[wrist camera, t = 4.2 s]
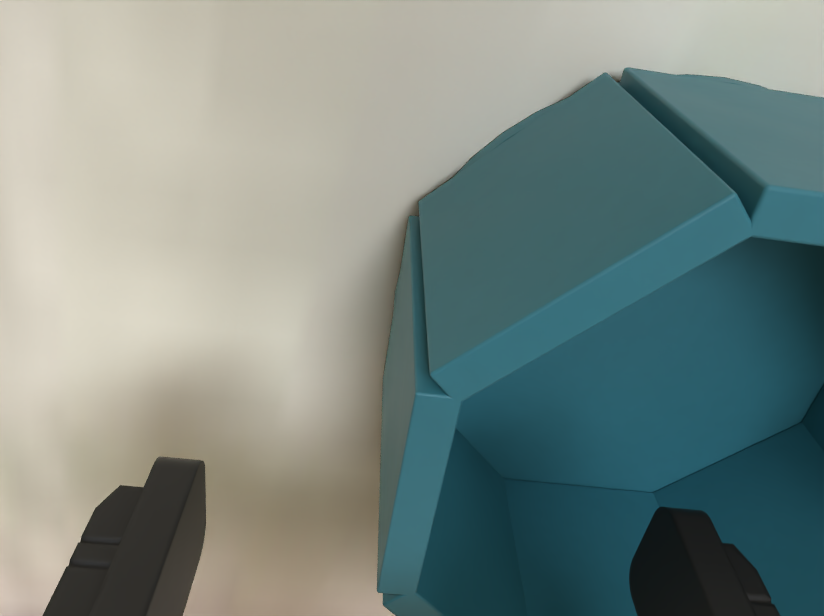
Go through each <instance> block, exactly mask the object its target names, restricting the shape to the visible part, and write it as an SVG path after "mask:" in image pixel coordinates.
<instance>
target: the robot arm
mask: <svg viewBox="0 0 824 616" xmlns="http://www.w3.org/2000/svg"><path fill="white" fill-rule="evenodd" d="M205 528H206V493H205V464H204V461H201V460H191V459H180V458H170V457H158V458H157V459H156V461H155V462H154V465H153V467H152V469H151V471H150V474H149V476H148V478H147V481H146V483H145V485H144V488H143V487H133V486H122V485H120V486H119V487H118V488H117V489H116V490H115V491H114V492H112V493H111V494H110V495H109V496H108V497H107V498H106V499H105V500H104V501H103V502H102V503H101V504H100V505H99V506H97V507H96V508H95V510H94V512H93V514H92V516H91V518H90V520H89V522H88V524H87V526H86V528H85V530H84V532H83V534H82V536H81V541H80V543H78V545H77V547H76V549H75V551H74V553H73V555H72V557H71V559H70V563H69V566H67V567H66V569H65V571H64V573H63V575H62V577H61V579H60V581H59V583H58V585H57V587H56V589H55V591H54V593H53V595H52V597H51V599H50V601H49V604H48V606H47V608H46V610H45V612H44V614H43V616H183V613H184V609H185V606H186V603H187V600H188V596H189V593H190V590H191V586H192V583H193V580H194V576H195V573H196V570H197V566H198V563H199V560H200V556H201V552H202V548H203V542H204V536H205ZM629 586H630V592H631V597H632V600H633V603H634V606H635V610H636V613H637V616H780V614H779V612H778V610H777V608H776V606H775V604H772V603H771V596H770V595H769V593H768V591H767V589H766V587H765V585H764V583H763V581H762V579H761V577H760V575H759V573H758V571H757V569H756V568H755V567H754V566H753V565H752V564H751V563H750V562H749V561H748V560H747V559H746V557H745V556H744V555H743V554H742V553H741V552H740V551H739V550H738V549H737V548H736V547H735V545H734V544H729V543H722V541H721V539H720V537H719V535H718V533H717V531H716V529H715V527H714V525H713V523H712V521H711V519H710V517H709V516H708V514H707V513H705V512H704V511H702V510H692V509H682V508H671V507H659V508H658V509H657V510H656V511H655V513H654V515H653V517H652V519H651V521H650V523H649V525H648V527H647V529H646V531H645V534H644V536H643V538H642V540H641V542H640V544H639V546H638V548H637V550H636V552H635V555H634V557H633V559H632V561H631V565H630V572H629Z"/></svg>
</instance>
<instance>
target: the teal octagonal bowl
mask: <svg viewBox="0 0 824 616" xmlns="http://www.w3.org/2000/svg"><path fill="white" fill-rule="evenodd" d="M418 205H419V216H409V219H408V225H407V231H406V237H405V244H404V250H403V256H402V262H401V269H400V273H399V277H398V282H397V286H396V290H395V298H394V310H393V319H392V325H391V331H390V338H389V344H388V350H387V356H386V363H385V369H384V375H383V393H382V428H381V463H380V498H379V533H378V568H377V592H378V593H383V605H384V607H386V608H387V609H388V610H389V611H391V612H392V613H393V614H394V615H396V616H637V613H636V610H635V606H634V603H633V600H632V597H631V592H630V586H629V572H630V565H631V561H632V559H633V557H634V555H635V552H636V550H637V548H638V546H639V544H640V542H641V540H642V538H643V536H644V534H645V531H646V529H647V527H648V525H649V523H650V521H651V519H652V517H653V515H654V513H655V511H656V510H657V509H658V508H659V507H671V508H682V509H692V510H702V511H704V512H705V513H707V514H708V516H709V517H710V519H711V521H712V523H713V525H714V527H715V529H716V531H717V533H718V535H719V537H720V539H721V541H722V543H729V544H734V545H735V547H736V548H737V549H738V550H739V551H740V552H741V553H742V554H743V555H744V556H745V557H746V559H747V560H748V561H749V562H750V563H751V564H752V565H753V566H754V567H755V568H756V569H757V571H758V573H759V575H760V577H761V579H762V581H763V583H764V585H765V587H766V589H767V591H768V593H769V595H770V596H771V603H772V604H775V606H776V608H777V610H778V612H779V614H780V616H824V98H822V97H815V96H809V95H802V94H796V93H789V92H783V91H776V90H770V89H767V88H764V87H762V86H759V85H755V84H751V83H746V82H742V81H738V80H733V79H729V78H725V77H713V76H701V75H689V74H685V75H673V74H666V73H660V72H653V71H647V70H641V69H634V68H625V69H624V71H623V74H622V77H621V80H620V82H616V81H615V80H614V79H613V78H612V77H611V76H609V75H608V74H607V73H603V74H601V75H600V76H599V77H597V78H596V79H594V80H593V81H591V82H590V83H588V84H587V85H586V86H584V87H583V88H581V89H580V90H578V91H577V92H576V93H574V94H573V95H571V96H570V97H568V98H566V99H564V100H562V101H559V102H557V103H555V104H553V105H551V106H549V107H546V108H544V109H542V110H540V111H538V112H536V113H534V114H532V115H531V116H529V117H528V118H526V119H524V120H523V121H521V122H519V123H518V124H516V125H515V126H513V127H511V128H510V129H508V130H506V131H505V132H503V133H502V134H501V135H499V136H498V137H497V138H496V139H494V140H493V141H492V142H491V143H489V144H488V145H487V146H486V147H484V148H483V149H482V150H481V151H479V152H478V153H477V154H476V155H474V156H473V157H472V158H471V159H470V160H469V161H468V162H467V163H466V164H465V165H464V167H463V168H462V169H461V170H460V171H459V172H458V173H457V174H456V175H455V176H454V177H453V178H452V179H450V180H449V181H447V182H446V183H444V184H443V185H441V186H440V187H439V188H437V189H436V190H434V191H433V192H431V193H430V194H428V195H427V196H426V197H424V198H423V199H421V200H420V201H419V202H418Z"/></svg>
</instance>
